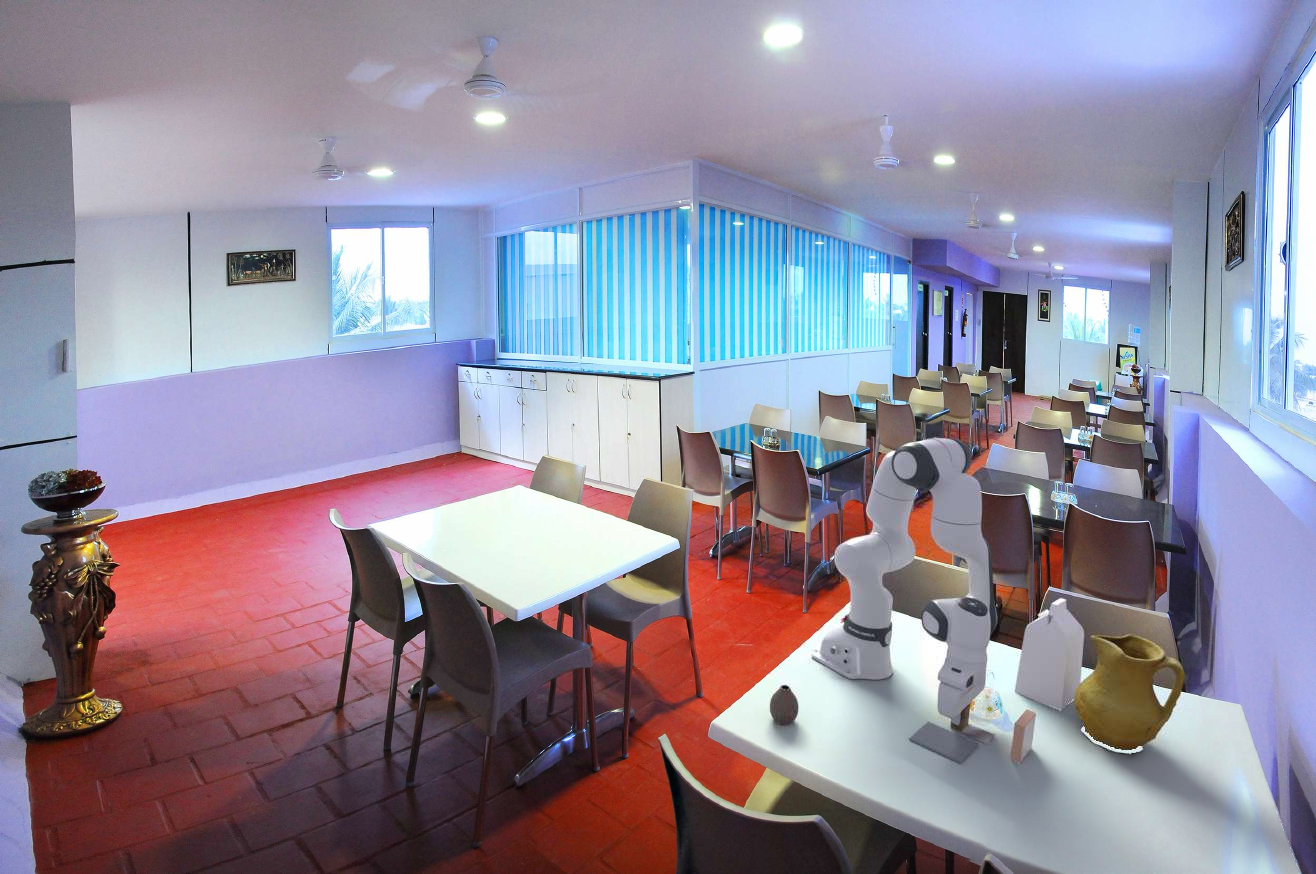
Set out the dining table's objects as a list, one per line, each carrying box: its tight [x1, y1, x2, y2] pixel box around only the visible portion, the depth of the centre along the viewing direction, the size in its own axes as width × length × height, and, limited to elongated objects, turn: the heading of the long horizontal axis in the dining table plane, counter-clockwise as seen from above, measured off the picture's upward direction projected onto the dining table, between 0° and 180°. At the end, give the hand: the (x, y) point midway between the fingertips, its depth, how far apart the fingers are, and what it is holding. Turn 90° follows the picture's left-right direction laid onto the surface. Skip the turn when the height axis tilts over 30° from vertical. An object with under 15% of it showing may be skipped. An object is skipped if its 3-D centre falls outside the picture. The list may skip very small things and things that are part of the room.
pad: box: [908, 721, 979, 765], centre depth 160 cm, size 12×10×1 cm
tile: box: [1009, 709, 1037, 764], centre depth 156 cm, size 2×8×9 cm, turn 135°
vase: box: [769, 684, 800, 726], centre depth 167 cm, size 7×7×9 cm
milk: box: [1014, 597, 1085, 711], centre depth 181 cm, size 12×12×26 cm
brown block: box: [950, 704, 995, 745], centre depth 164 cm, size 9×4×6 cm, turn 45°
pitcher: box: [1073, 633, 1185, 750], centre depth 161 cm, size 17×19×25 cm
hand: (959, 719), depth 166 cm, fingers closed on brown block, 3 cm apart
